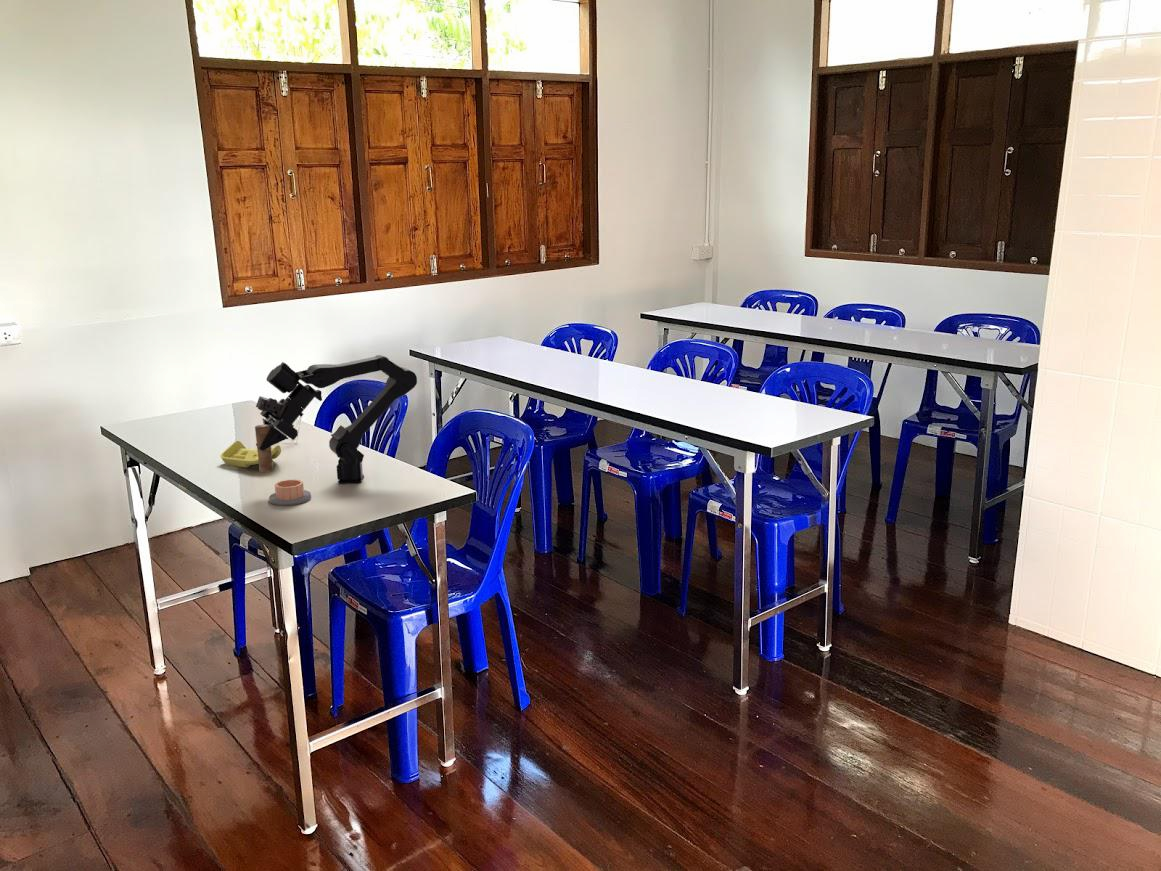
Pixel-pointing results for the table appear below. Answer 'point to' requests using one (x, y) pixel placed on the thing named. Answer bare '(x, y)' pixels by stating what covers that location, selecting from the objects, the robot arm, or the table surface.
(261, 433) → the walnut rail post
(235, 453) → the plastic component
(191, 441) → the table surface
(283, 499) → the ring
